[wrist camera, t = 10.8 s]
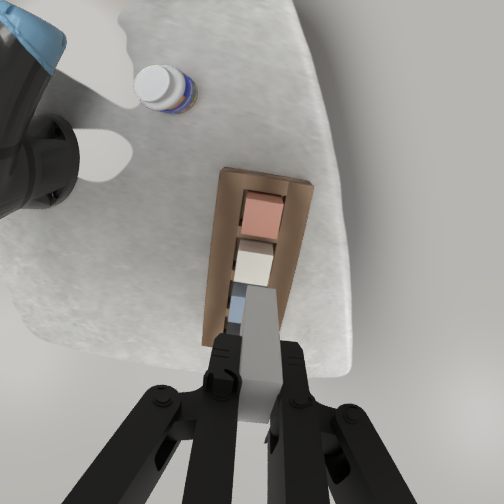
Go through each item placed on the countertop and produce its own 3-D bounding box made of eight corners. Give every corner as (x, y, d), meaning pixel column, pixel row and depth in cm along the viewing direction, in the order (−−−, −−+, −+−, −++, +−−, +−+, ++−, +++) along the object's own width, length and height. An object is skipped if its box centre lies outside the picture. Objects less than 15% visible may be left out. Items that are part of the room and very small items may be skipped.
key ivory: (236, 263, 39) (233, 281, 34) (241, 235, 37) (238, 250, 33) (266, 267, 39) (267, 286, 35) (272, 240, 38) (273, 255, 33)
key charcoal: (225, 337, 43) (222, 360, 38) (228, 316, 41) (225, 339, 36) (252, 341, 43) (251, 364, 38) (256, 321, 41) (255, 343, 37)
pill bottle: (188, 119, 34) (164, 115, 25) (152, 107, 33) (119, 101, 24) (204, 82, 32) (186, 66, 23) (168, 70, 31) (139, 54, 22)
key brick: (243, 220, 37) (240, 233, 32) (248, 189, 35) (246, 198, 31) (274, 225, 37) (276, 239, 32) (280, 194, 35) (283, 204, 31)
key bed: (205, 329, 47) (201, 345, 43) (224, 167, 36) (220, 170, 33) (272, 339, 47) (272, 355, 43) (308, 181, 37) (314, 186, 33)
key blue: (231, 300, 41) (227, 321, 37) (234, 276, 40) (231, 295, 35) (259, 304, 42) (258, 326, 37) (264, 280, 40) (264, 300, 35)
